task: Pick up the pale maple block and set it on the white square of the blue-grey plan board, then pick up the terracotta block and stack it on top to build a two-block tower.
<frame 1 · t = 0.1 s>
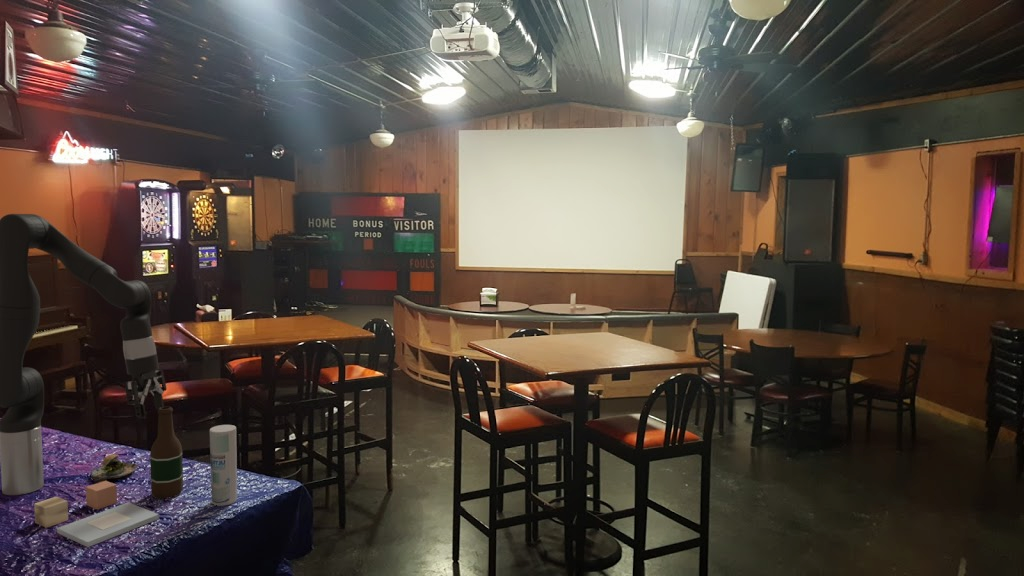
hand: (150, 413, 178), 22 cm above the table, tool pointing down, fingers open, 8 cm apart
terracotta block: (102, 504, 173), on the table
maple block: (51, 521, 162), on the table
burger: (114, 475, 192), on the table
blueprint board: (109, 525, 161), on the table
beer bottle: (167, 494, 180), on the table
spray can: (224, 501, 176), on the table
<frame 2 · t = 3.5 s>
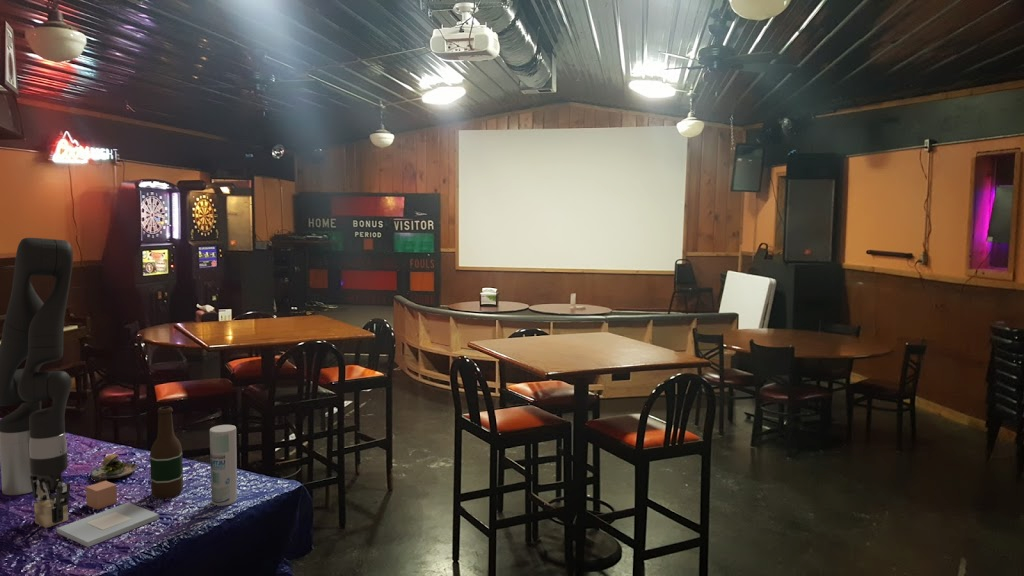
hand: (51, 518, 162), 1 cm above the table, tool pointing down, fingers closed on maple block, 5 cm apart
maple block: (51, 521, 162), on the table, touching gripper
everything else where it was.
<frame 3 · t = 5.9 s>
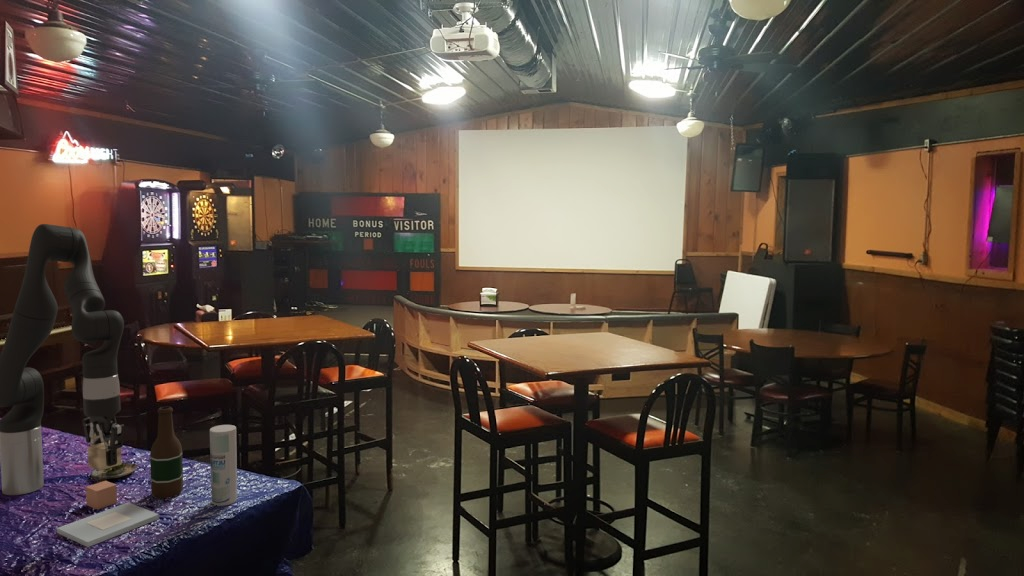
hand: (105, 462, 159), 16 cm above the table, tool pointing down, fingers closed on maple block, 5 cm apart
maple block: (105, 465, 159), point 15 cm above the table, touching gripper
everything else where it was.
when the fingers open (3 cm above the table, at t = 8.8 s): maple block drops 1 cm, resting on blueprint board.
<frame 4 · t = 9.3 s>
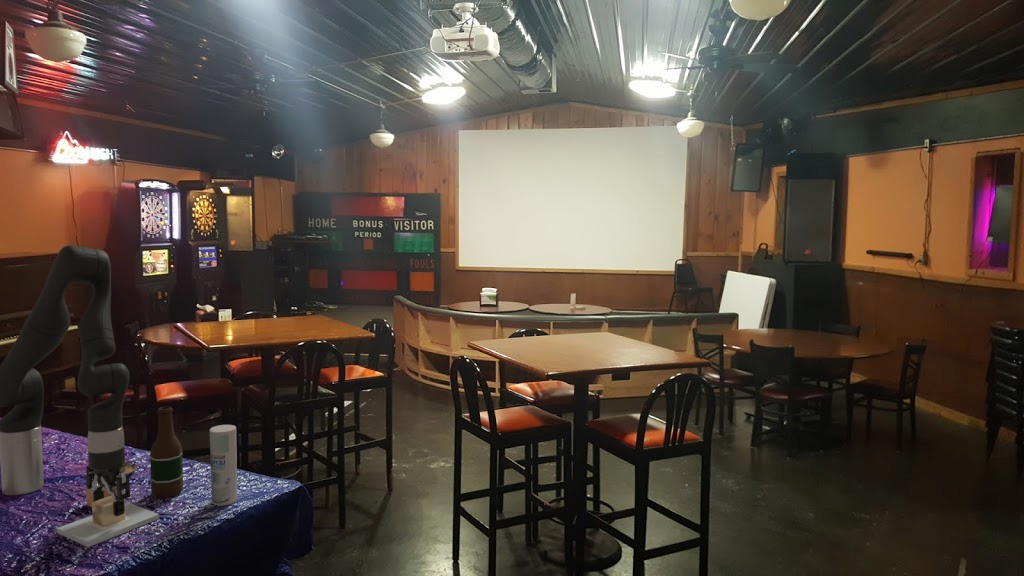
hand: (108, 510, 161), 4 cm above the table, tool pointing down, fingers open, 8 cm apart
maple block: (109, 520, 161), point 1 cm above the table, touching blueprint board
everything else where it was.
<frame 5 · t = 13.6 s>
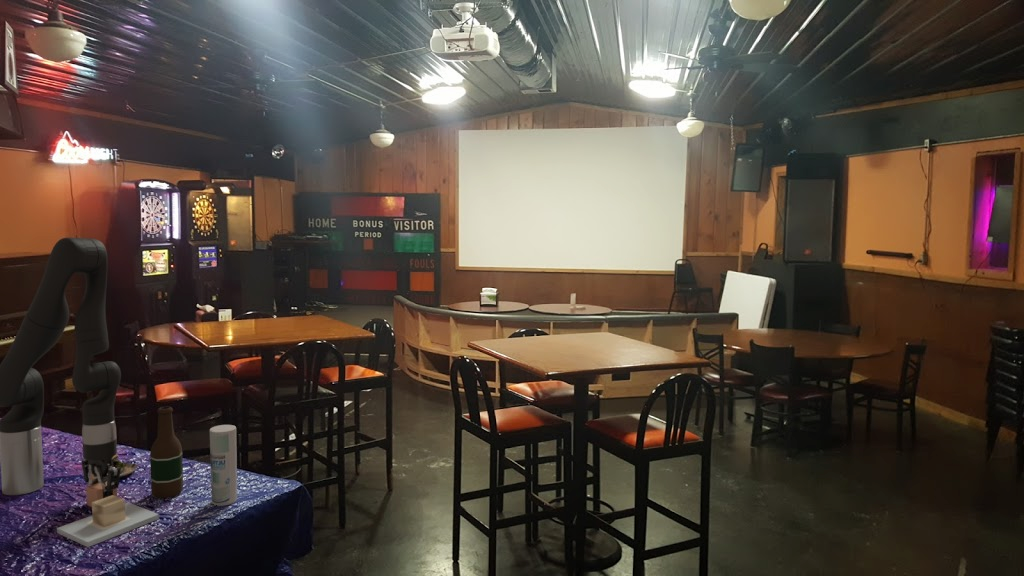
hand: (102, 501, 173), 1 cm above the table, tool pointing down, fingers closed on terracotta block, 5 cm apart
terracotta block: (102, 503, 173), on the table, touching gripper
everything else where it was.
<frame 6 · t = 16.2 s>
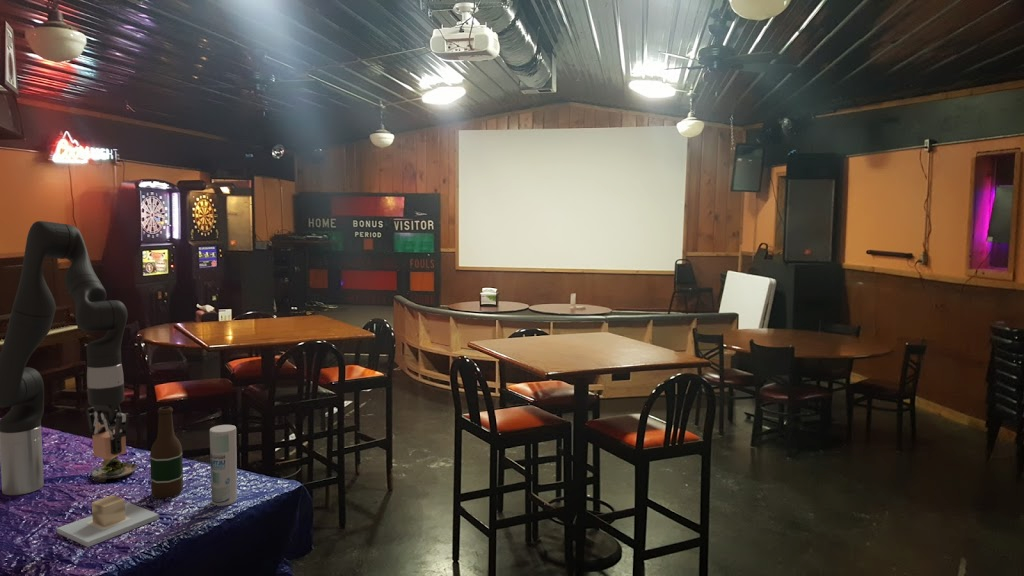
hand: (109, 451, 161), 18 cm above the table, tool pointing down, fingers closed on terracotta block, 5 cm apart
terracotta block: (110, 454, 161), point 17 cm above the table, touching gripper
everything else where it was.
when the fingers open (8 cm above the table, at t = 19.0 s): terracotta block drops 1 cm, resting on maple block.
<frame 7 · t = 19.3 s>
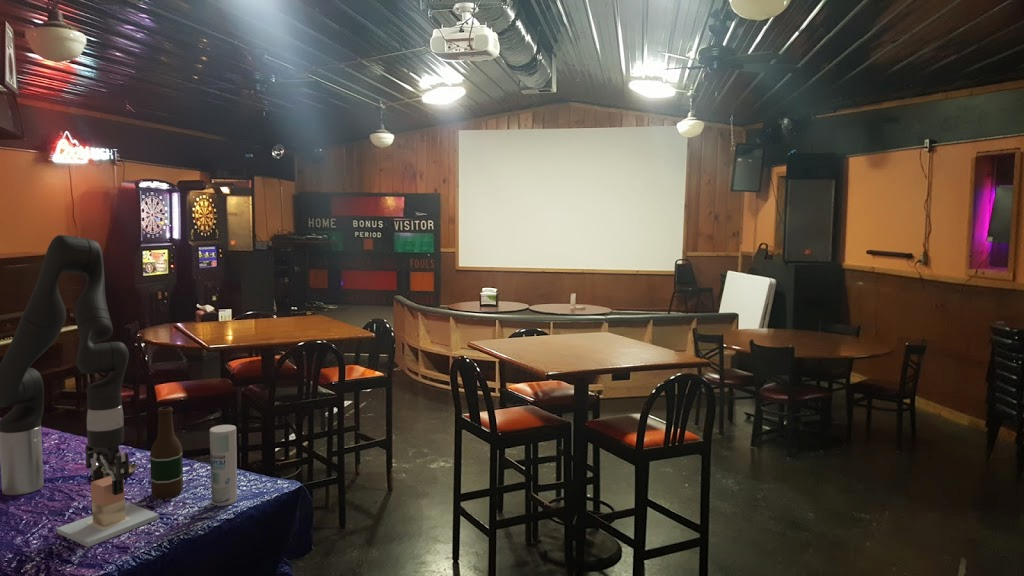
hand: (108, 490, 160), 9 cm above the table, tool pointing down, fingers open, 8 cm apart
terracotta block: (108, 500, 160), point 6 cm above the table, touching maple block
maple block: (109, 520, 161), point 1 cm above the table, touching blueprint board, terracotta block
everything else where it was.
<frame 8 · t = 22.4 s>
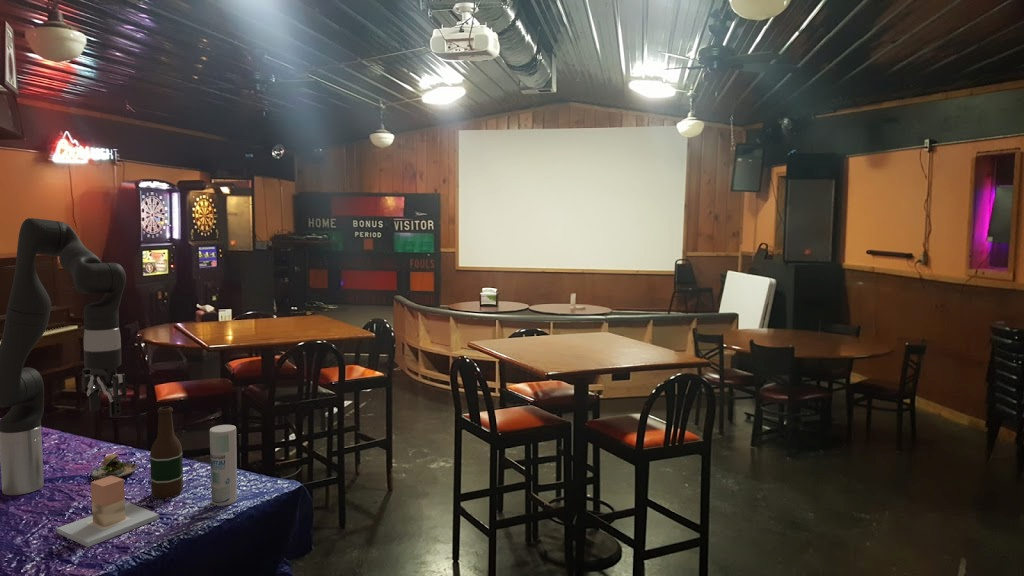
hand: (105, 413, 158), 28 cm above the table, tool pointing down, fingers open, 8 cm apart
nothing on the table moved.
at the end: maple block 0.0 cm off-centre on the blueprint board, point 1.3 cm above the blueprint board's base; terracotta block 0.2 cm off-centre on the maple block, point 5.0 cm above the maple block's base; terracotta block tilted 0° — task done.
